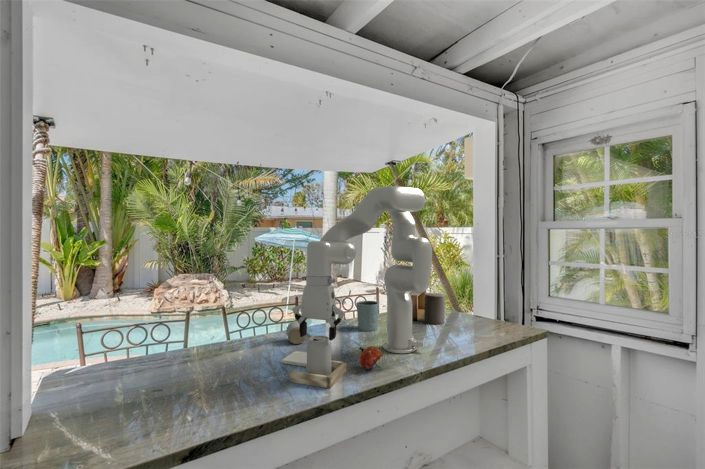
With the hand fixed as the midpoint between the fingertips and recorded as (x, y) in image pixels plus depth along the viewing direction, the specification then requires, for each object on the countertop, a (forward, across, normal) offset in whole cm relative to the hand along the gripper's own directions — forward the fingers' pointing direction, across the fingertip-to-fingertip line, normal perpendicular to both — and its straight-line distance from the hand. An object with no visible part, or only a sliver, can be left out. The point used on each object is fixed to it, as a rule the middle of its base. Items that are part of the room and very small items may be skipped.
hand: (317, 337), depth 113 cm
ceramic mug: (+12, +22, -30) cm, 39 cm away
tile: (+12, +12, -12) cm, 20 cm away
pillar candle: (+10, -24, -81) cm, 85 cm away
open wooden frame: (+12, 0, -1) cm, 12 cm away
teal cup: (+11, +3, -58) cm, 59 cm away
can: (+12, 0, -1) cm, 12 cm away
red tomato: (+12, -13, -13) cm, 22 cm away
